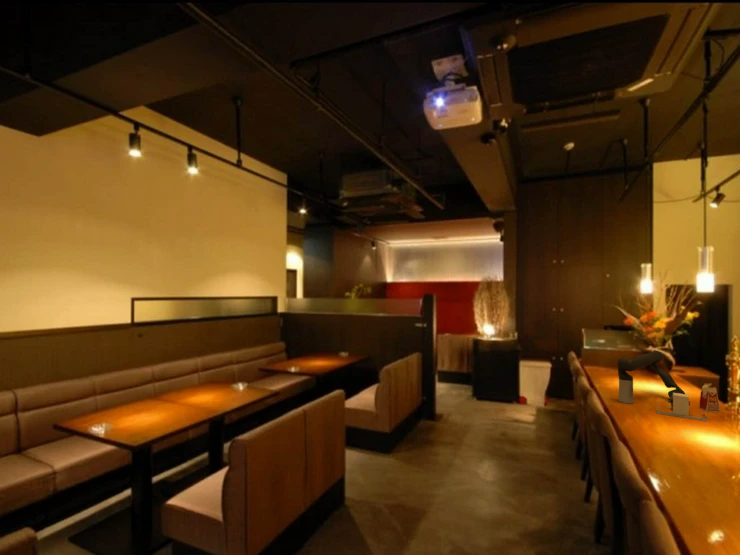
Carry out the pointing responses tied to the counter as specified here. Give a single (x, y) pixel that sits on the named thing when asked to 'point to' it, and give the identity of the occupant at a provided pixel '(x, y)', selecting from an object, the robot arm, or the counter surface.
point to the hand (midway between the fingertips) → (679, 404)
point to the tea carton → (680, 404)
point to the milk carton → (709, 399)
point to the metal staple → (681, 415)
